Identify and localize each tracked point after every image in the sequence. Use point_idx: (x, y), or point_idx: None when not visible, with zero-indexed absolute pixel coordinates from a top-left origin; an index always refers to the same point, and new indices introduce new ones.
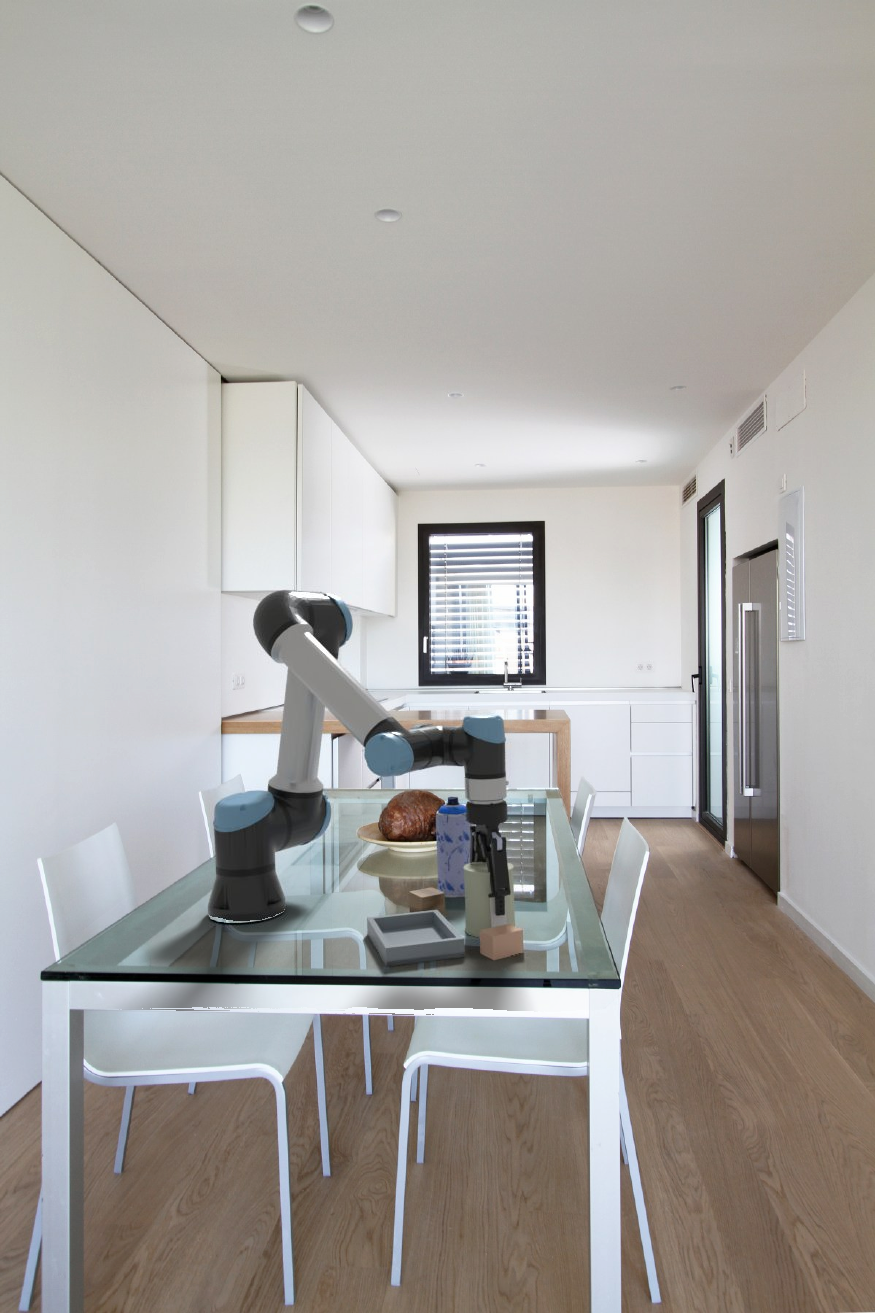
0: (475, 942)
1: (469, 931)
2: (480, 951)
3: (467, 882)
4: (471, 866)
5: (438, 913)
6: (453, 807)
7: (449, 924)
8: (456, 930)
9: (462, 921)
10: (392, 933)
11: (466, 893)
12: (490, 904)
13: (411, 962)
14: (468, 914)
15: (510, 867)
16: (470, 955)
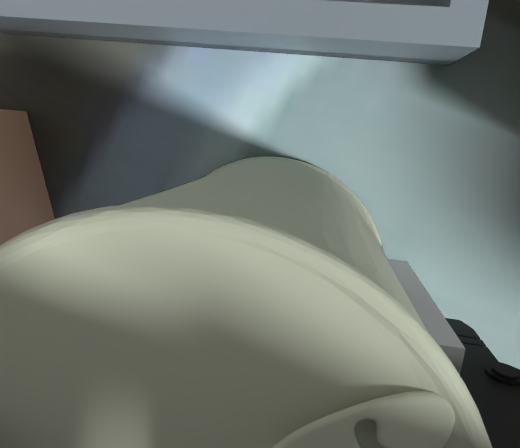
0: (150, 145)
1: (245, 161)
2: (19, 111)
3: (175, 192)
4: (289, 356)
5: (397, 26)
6: None
7: (168, 18)
8: (64, 20)
9: (451, 208)
10: None
11: (235, 180)
12: None
13: None
14: (238, 168)
15: None
16: (17, 64)
